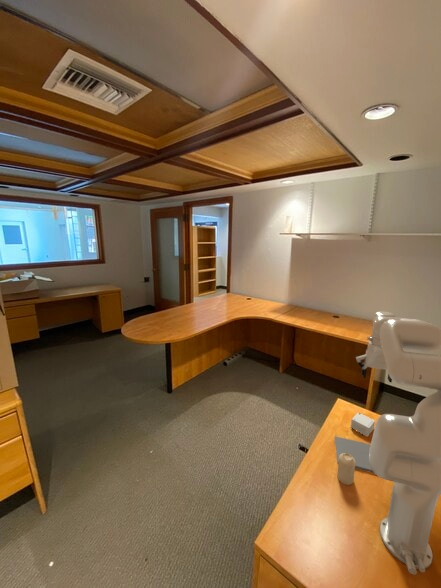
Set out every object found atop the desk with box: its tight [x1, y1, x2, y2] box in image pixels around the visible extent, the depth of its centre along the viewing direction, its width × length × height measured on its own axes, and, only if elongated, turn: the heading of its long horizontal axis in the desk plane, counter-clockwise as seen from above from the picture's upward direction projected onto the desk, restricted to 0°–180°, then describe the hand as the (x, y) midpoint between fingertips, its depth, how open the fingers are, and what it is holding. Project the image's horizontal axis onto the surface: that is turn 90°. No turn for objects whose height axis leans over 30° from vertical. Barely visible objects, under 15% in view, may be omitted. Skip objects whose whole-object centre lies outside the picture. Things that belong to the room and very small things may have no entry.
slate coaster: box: [334, 435, 375, 474], centre depth 105 cm, size 14×14×1 cm
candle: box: [336, 453, 356, 486], centre depth 93 cm, size 6×6×10 cm
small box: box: [350, 412, 376, 438], centre depth 119 cm, size 8×8×5 cm
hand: (376, 378), depth 107 cm, fingers open, 9 cm apart
